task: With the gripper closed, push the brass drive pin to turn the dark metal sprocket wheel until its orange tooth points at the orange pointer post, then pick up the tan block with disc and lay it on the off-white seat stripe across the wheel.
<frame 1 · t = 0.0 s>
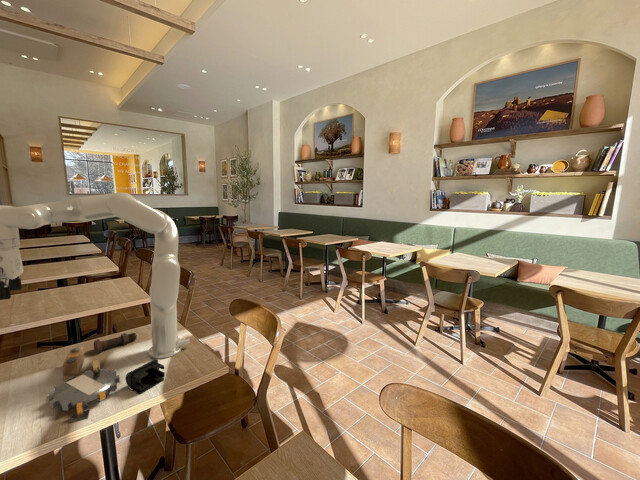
hand: (9, 294, 99), 31 cm above the table, tool pointing down, fingers open, 9 cm apart
tan block with disc: (74, 370, 110), on the table
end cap: (146, 384, 105), on the table
sprocket: (85, 381, 97), point 5 cm above the table, hinge at 35.0°
bolt: (117, 346, 128), on the table
sprocket stand: (86, 394, 98), on the table
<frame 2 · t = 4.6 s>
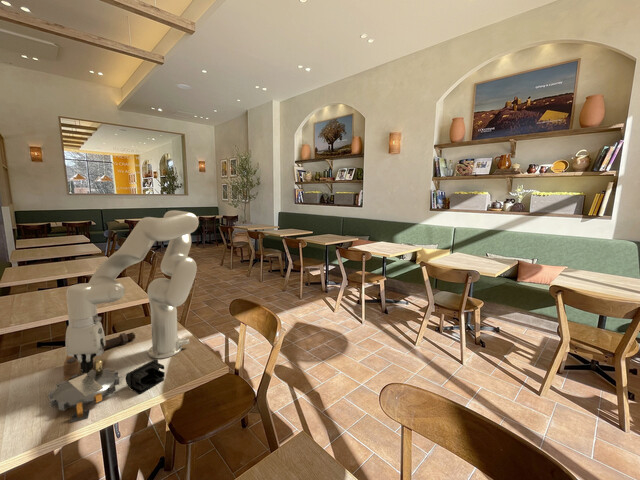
hand: (87, 370, 102), 5 cm above the table, tool pointing down, fingers closed
sprocket: (85, 381, 97), point 5 cm above the table, hinge at 28.3°, touching gripper
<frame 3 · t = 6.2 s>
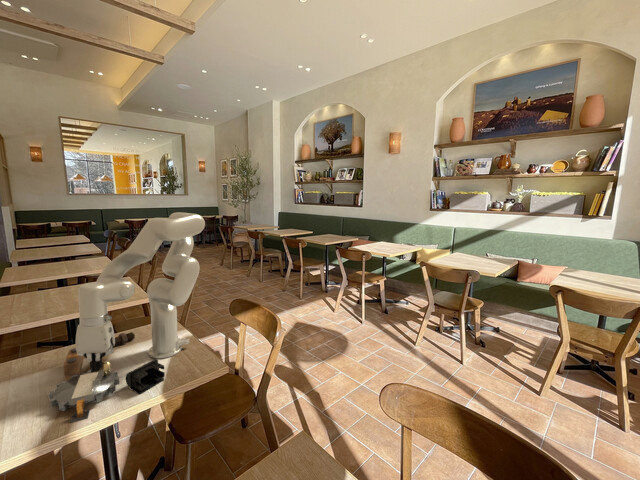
hand: (96, 370, 102), 5 cm above the table, tool pointing down, fingers closed
sprocket: (85, 381, 97), point 5 cm above the table, hinge at -1.1°, touching gripper
everything else where it was.
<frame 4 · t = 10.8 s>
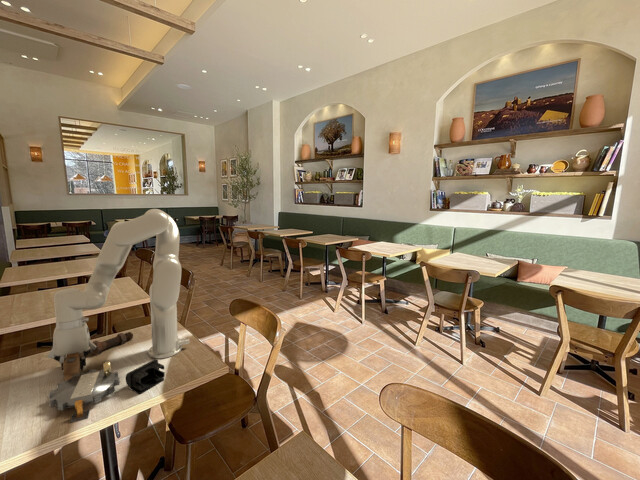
hand: (74, 368, 110), 1 cm above the table, tool pointing down, fingers closed on tan block with disc, 4 cm apart
tan block with disc: (74, 370, 110), on the table, touching gripper
sprocket: (85, 381, 97), point 5 cm above the table, hinge at -3.7°
when the fingers open (6 cm above the table, at t = 15.9 s): tan block with disc drops 1 cm, resting on sprocket.
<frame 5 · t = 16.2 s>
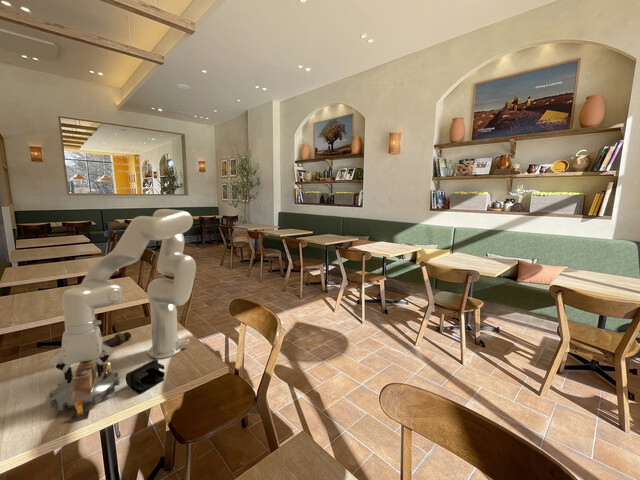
hand: (85, 377, 97), 6 cm above the table, tool pointing down, fingers open, 7 cm apart
tan block with disc: (86, 384, 97), point 4 cm above the table, touching sprocket
sprocket: (85, 381, 97), point 5 cm above the table, hinge at -3.7°, touching tan block with disc
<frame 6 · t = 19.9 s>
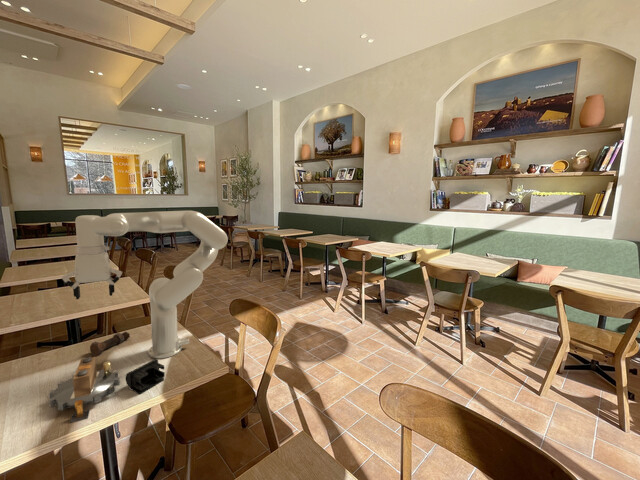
hand: (95, 296, 108), 28 cm above the table, tool pointing down, fingers open, 9 cm apart
at the end: sprocket at -4° (first picture: +35°); tan block with disc 0.1 cm off-centre on the sprocket, point 3.8 cm above the sprocket's base; tan block with disc touching sprocket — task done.
